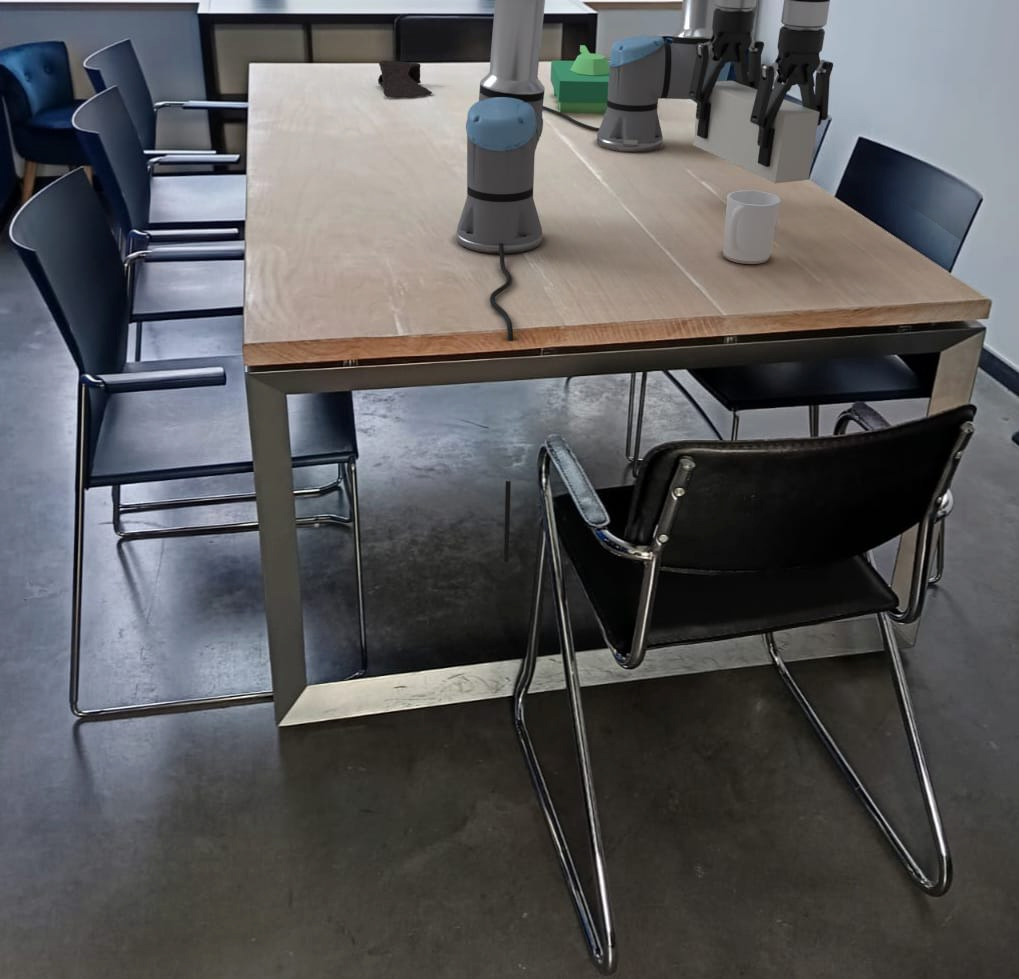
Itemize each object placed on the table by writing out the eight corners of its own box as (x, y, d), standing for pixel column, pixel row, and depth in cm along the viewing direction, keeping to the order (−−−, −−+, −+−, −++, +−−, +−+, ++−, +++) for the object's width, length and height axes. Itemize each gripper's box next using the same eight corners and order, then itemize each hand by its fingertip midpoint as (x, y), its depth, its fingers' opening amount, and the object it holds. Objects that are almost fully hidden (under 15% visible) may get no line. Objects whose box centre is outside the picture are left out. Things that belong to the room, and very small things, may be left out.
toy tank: (613, 42, 302) (631, 66, 272) (610, 88, 309) (627, 117, 279) (549, 40, 301) (560, 65, 272) (547, 87, 308) (558, 116, 278)
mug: (736, 244, 196) (743, 187, 191) (781, 255, 191) (790, 197, 186) (704, 259, 189) (711, 200, 183) (750, 272, 184) (758, 211, 179)
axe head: (443, 87, 294) (392, 77, 287) (436, 115, 299) (385, 106, 292) (421, 62, 307) (371, 52, 300) (414, 89, 311) (365, 80, 304)
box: (808, 179, 197) (819, 112, 191) (775, 183, 194) (785, 114, 188) (724, 142, 219) (731, 80, 213) (693, 145, 216) (699, 82, 210)
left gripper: (838, 20, 192) (816, 152, 204) (739, 25, 185) (723, 162, 197) (865, 27, 186) (841, 163, 198) (765, 32, 179) (746, 173, 191)
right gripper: (768, 3, 208) (752, 126, 220) (676, 7, 201) (665, 134, 213) (792, 9, 202) (773, 135, 214) (698, 13, 195) (684, 144, 207)
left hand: (782, 162), depth 197 cm, fingers open, 7 cm apart
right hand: (719, 135), depth 214 cm, fingers closed on box, 7 cm apart
